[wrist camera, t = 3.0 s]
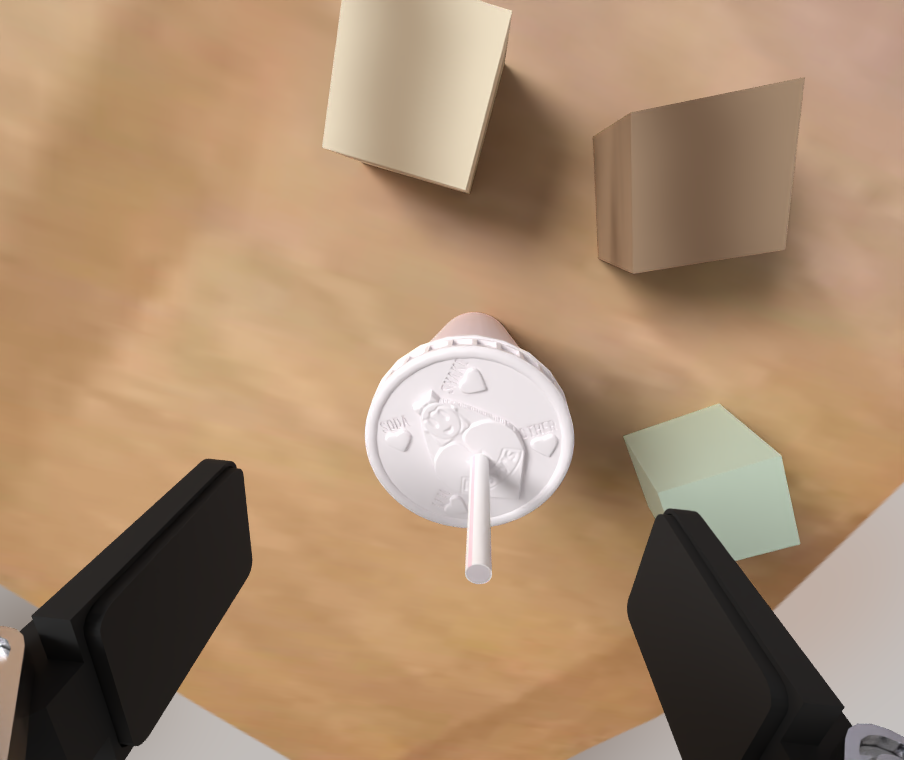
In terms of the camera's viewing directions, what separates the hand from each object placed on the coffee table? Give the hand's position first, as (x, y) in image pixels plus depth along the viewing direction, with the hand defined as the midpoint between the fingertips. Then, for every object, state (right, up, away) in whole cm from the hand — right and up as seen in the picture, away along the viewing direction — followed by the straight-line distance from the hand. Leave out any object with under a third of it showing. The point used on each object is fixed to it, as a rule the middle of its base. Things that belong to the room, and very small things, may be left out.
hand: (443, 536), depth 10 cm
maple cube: (-1, +15, +8) cm, 17 cm away
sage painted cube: (+13, -1, +14) cm, 19 cm away
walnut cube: (+9, +12, +9) cm, 17 cm away
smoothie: (+1, +5, +12) cm, 13 cm away
